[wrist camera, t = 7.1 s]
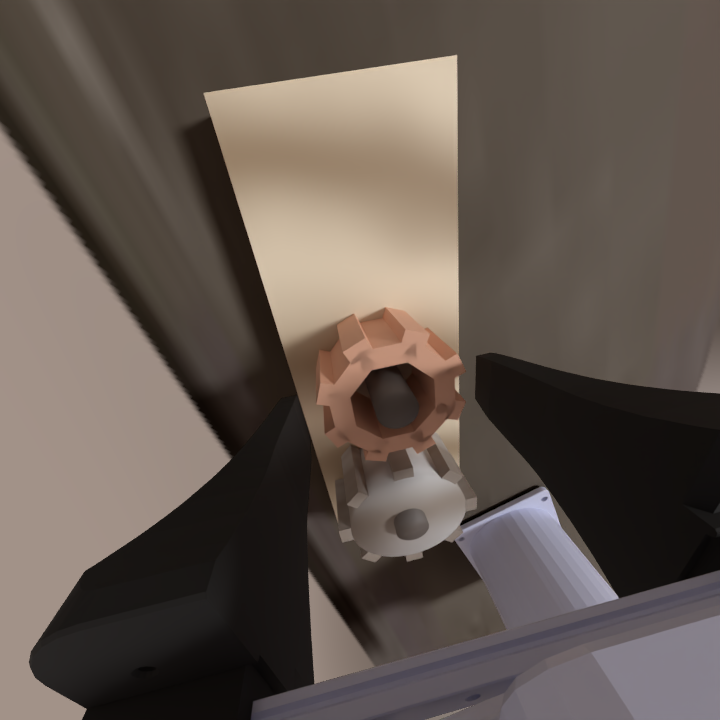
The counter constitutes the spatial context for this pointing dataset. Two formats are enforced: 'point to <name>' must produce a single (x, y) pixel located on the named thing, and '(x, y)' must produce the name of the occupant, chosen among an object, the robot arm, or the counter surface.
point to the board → (359, 264)
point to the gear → (378, 350)
